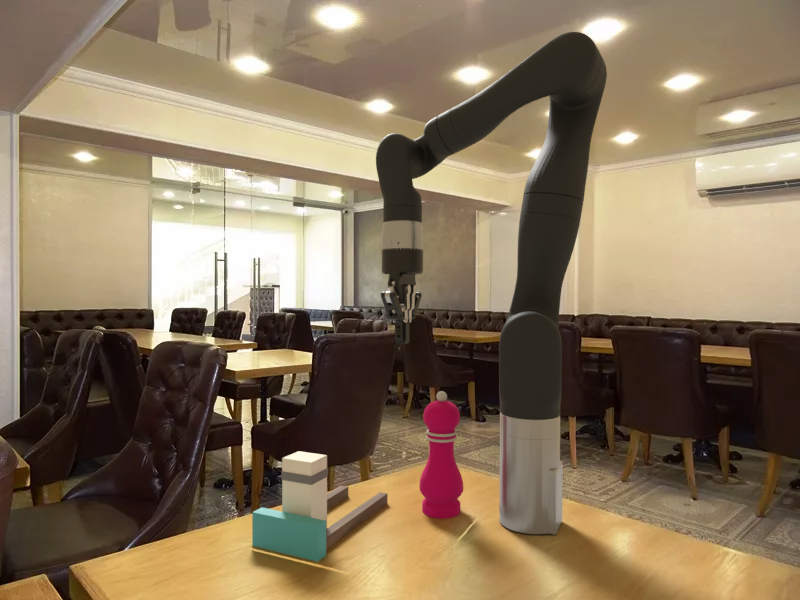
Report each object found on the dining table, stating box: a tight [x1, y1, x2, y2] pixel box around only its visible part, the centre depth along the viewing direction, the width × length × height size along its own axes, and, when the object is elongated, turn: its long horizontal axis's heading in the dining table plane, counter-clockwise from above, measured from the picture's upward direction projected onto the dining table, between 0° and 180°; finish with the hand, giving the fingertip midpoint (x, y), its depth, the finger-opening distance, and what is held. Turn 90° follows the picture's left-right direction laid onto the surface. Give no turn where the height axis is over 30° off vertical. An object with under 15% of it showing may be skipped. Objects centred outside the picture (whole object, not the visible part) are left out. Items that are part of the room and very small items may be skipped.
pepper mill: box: [419, 390, 464, 520], centre depth 92 cm, size 7×7×20 cm
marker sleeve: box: [280, 450, 329, 529], centre depth 81 cm, size 5×4×12 cm
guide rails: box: [326, 485, 388, 551], centre depth 87 cm, size 9×22×2 cm, turn 155°
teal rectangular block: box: [251, 506, 327, 562], centre depth 77 cm, size 11×2×5 cm, turn 65°
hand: (402, 343), depth 101 cm, fingers closed
